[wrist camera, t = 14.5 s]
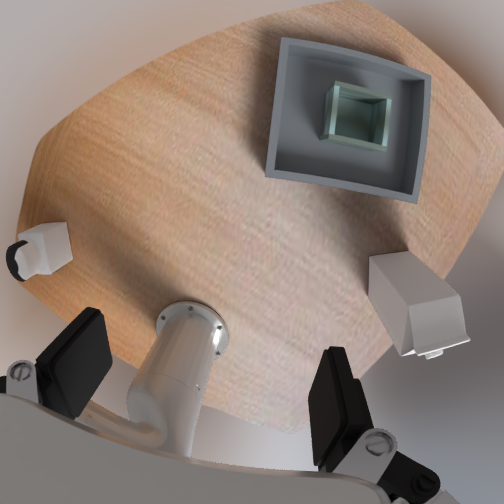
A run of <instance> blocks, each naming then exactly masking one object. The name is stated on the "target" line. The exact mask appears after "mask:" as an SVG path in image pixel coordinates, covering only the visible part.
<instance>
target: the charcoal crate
mask: <svg viewBox="0 0 504 504" xmlns="http://www.w3.org/2000/svg"><path fill="white" fill-rule="evenodd" d="M334 81H339V82H344V83H348V84H352V85H356V86H360V87H364V88H368V89H372V90H375V91H379V92H382V93H386V94H389V95H392V102H391V113H390V123H389V132H388V141H387V148H386V152H385V151H368V150H363V149H359V148H354V147H350V146H345V145H340V144H335V143H330V142H324V141H320V135H321V127H322V119H323V110H324V101H325V92H326V90H327V89H328V88H329V87H330V85H331V84H332V83H333V82H334ZM430 95H431V75H428V74H426V73H423V72H421V71H418V70H416V69H413V68H410V67H408V66H405V65H402V64H399V63H396V62H393V61H390V60H387V59H384V58H381V57H377V56H374V55H370V54H367V53H363V52H359V51H355V50H351V49H347V48H343V47H339V46H334V45H329V44H324V43H319V42H313V41H307V40H301V39H294V38H286V37H281V44H280V52H279V61H278V69H277V78H276V86H275V95H274V103H273V112H272V120H271V128H270V137H269V145H268V153H267V162H266V170H265V177H269V178H276V179H284V180H291V181H298V182H304V183H311V184H317V185H323V186H329V187H335V188H341V189H346V190H352V191H357V192H362V193H367V194H372V195H377V196H382V197H387V198H392V199H396V200H401V201H405V202H409V203H414V204H417V201H418V196H419V191H420V185H421V180H422V174H423V167H424V160H425V153H426V145H427V136H428V125H429V113H430Z"/></svg>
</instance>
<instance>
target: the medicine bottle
mask: <svg viewBox="0 0 504 504" xmlns="http://www.w3.org/2000/svg"><path fill="white" fill-rule="evenodd" d="M18 239H19V242H17V243H15V244H13V245H11V246H9V247H8V249H7V253H6V262H7V266H8V269H9V271H10V273H11V274H12V275H13V277H14V278H15V279H17V280H19V281H22V282H23V281H26V280H27V279H29V278H30V277H32V276H33V275H35V274H46V275H51V274H53V273H54V272H56V271H57V270H59V269H60V268H62V267H63V266H65V265H66V264H68V263H69V262H71V261H72V260H73V255H72V250H71V245H70V240H69V234H68V228H67V223H66V222H56V223H42V224H39V225H37V226H35V227H33V228H30V229H28V230H26V231H24V232H22V233H19V234H18Z"/></svg>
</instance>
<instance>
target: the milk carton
mask: <svg viewBox="0 0 504 504" xmlns="http://www.w3.org/2000/svg"><path fill="white" fill-rule="evenodd" d="M368 298H369V300H370V302H371V303H372V305H373V307H374V309H375V310H376V312H377V314H378V316H379V318H380V319H381V321H382V323H383V325H384V327H385V328H386V330H387V332H388V334H389V336H390V338H391V339H392V341H393V343H394V345H395V347H396V349H397V351H398V353H399V354H400V356H405V355H409V354H413V353H416V354H417V355H418V356H419V355H423V354H426V359H430V358H433V357H436V356H439V355H441V354H443V350H442V349H445V348H448V347H452V346H455V345H458V344H461V343H464V342H468V341H470V338H469V337H468V336H467V334H466V329H465V322H464V315H463V310H462V304H461V298H460V295H459V294H458V293H457V292H455V291H454V290H453V289H452V288H451V287H450V286H449V285H448V284H447V283H446V282H445V281H444V280H443V279H441V278H440V277H439V276H438V275H437V274H436V273H435V272H434V271H432V270H431V269H430V268H429V267H428V266H427V265H426V264H424V263H423V262H422V261H421V260H420V259H419V258H417V257H416V256H415V255H414V254H413V253H411V252H410V251H405V252H397V253H390V254H382V255H375V256H370V257H369V292H368Z"/></svg>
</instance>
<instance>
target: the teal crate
mask: <svg viewBox="0 0 504 504" xmlns="http://www.w3.org/2000/svg"><path fill="white" fill-rule="evenodd" d="M391 102H392V95H389V94H386V93H382V92H379V91H375V90H372V89H368V88H364V87H360V86H356V85H352V84H348V83H344V82H339V81H334V82H333V83H332V84H331V85H330V87H329V88H328V89H327V90H326V92H325V101H324V110H323V119H322V127H321V135H320V141H324V142H330V143H335V144H340V145H345V146H350V147H354V148H359V149H363V150H368V151H385V152H386V148H387V141H388V132H389V123H390V113H391Z"/></svg>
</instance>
